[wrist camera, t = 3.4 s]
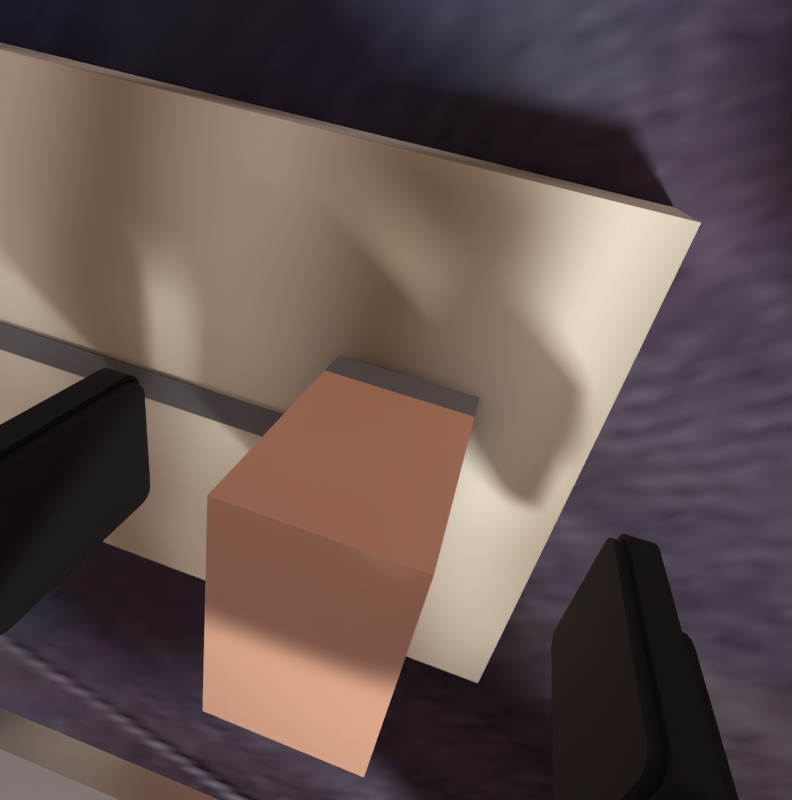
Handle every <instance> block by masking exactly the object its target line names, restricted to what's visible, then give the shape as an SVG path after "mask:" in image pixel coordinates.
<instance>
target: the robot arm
mask: <svg viewBox="0 0 792 800" xmlns="http://www.w3.org/2000/svg"><path fill="white" fill-rule="evenodd" d="M149 491H150V471H149V455H148V439H147V423H146V406H145V392H144V389H143V387H142V386H140V385H139V381H138V379H137V378H136V377H134V376H133V375H130V374H126V373H123V372H120V371H117V370H114V369H111V368H103V369H100V370H98V371H97V372H95V373H93V374H91V375H89V376H87V377H86V378H84V379H82V380H80V381H78V382H77V383H75V384H73V385H71V386H69V387H68V388H66V389H64V390H62V391H60V392H58V393H57V394H55V395H53V396H51V397H49V398H48V399H46V400H44V401H42V402H40V403H38V404H37V405H35V406H33V407H31V408H29V409H28V410H26V411H24V412H22V413H20V414H19V415H17V416H15V417H13V418H11V419H9V420H8V421H6V422H4V423H2V424H0V635H1V634H3V633H5V632H6V631H8V630H9V629H10V628H11V627H12V626H14V625H15V624H16V623H17V622H18V621H19V620H20V619H21V618H22V617H23V616H24V615H25V614H26V613H27V612H28V611H29V610H30V609H32V608H33V607H34V606H35V605H36V604H37V603H38V602H39V601H40V600H41V599H42V598H43V597H44V596H45V595H46V594H47V593H49V592H50V591H51V590H52V589H53V588H54V587H55V586H56V585H57V584H58V583H59V582H60V581H61V580H62V579H63V578H64V577H65V576H67V575H68V574H69V573H70V572H71V571H72V570H73V569H74V568H75V567H76V566H77V565H78V564H79V563H80V562H81V561H82V560H83V559H85V558H86V557H87V556H88V555H89V554H90V553H91V552H92V551H93V550H94V549H95V548H96V547H97V546H98V545H99V544H100V543H102V542H103V541H104V540H105V539H106V538H107V537H108V536H109V535H110V534H111V533H112V532H113V531H114V530H115V529H116V528H117V527H118V526H120V525H121V524H122V523H123V522H124V521H125V520H126V519H127V518H128V517H129V516H130V515H131V514H132V513H133V512H134V511H135V510H137V509H138V508H139V507H140V506H141V505H142V504H143V503H144V501H145V500H146V498H147V497H148V494H149ZM551 661H552V739H553V800H739V799H738V796H737V792H736V789H735V785H734V782H733V778H732V775H731V771H730V768H729V764H728V761H727V757H726V754H725V751H724V747H723V744H722V740H721V737H720V733H719V730H718V726H717V723H716V719H715V716H714V712H713V709H712V705H711V702H710V698H709V695H708V691H707V688H706V684H705V681H704V677H703V674H702V670H701V667H700V664H699V660H698V657H697V653H696V650H695V647H694V645H693V642H692V640H691V639H690V637H689V636H688V635H687V634H686V633H683V632H682V630H681V626H680V622H679V619H678V615H677V611H676V608H675V604H674V600H673V597H672V593H671V589H670V586H669V582H668V578H667V574H666V571H665V567H664V563H663V560H662V556H661V552H660V549H659V547H658V546H657V545H656V544H655V543H651V542H648V541H645V540H642V539H639V538H636V537H633V536H630V535H627V534H622V535H621V536H619V537H618V539H617V540H616V539H613V538H609V539H607V541H606V542H605V543H604V545H603V547H602V549H601V550H600V552H599V554H598V556H597V557H596V559H595V561H594V563H593V564H592V566H591V568H590V570H589V571H588V573H587V575H586V577H585V578H584V580H583V582H582V584H581V585H580V587H579V589H578V591H577V592H576V594H575V596H574V597H573V599H572V601H571V603H570V604H569V606H568V608H567V610H566V611H565V613H564V615H563V617H562V618H561V620H560V622H559V624H558V625H557V627H556V629H555V632H554V635H553V639H552V647H551ZM0 800H218V799H215V798H213V797H211V796H208V795H206V794H204V793H201V792H199V791H197V790H194V789H192V788H189V787H187V786H185V785H182V784H180V783H178V782H175V781H173V780H171V779H168V778H166V777H163V776H161V775H159V774H156V773H154V772H152V771H149V770H147V769H144V768H142V767H140V766H137V765H135V764H133V763H130V762H128V761H125V760H123V759H121V758H118V757H116V756H114V755H111V754H109V753H107V752H104V751H102V750H99V749H97V748H95V747H92V746H90V745H88V744H85V743H83V742H80V741H78V740H76V739H73V738H71V737H69V736H66V735H64V734H61V733H59V732H57V731H54V730H52V729H49V728H47V727H45V726H42V725H40V724H37V723H35V722H33V721H30V720H28V719H25V718H23V717H21V716H18V715H16V714H13V713H11V712H9V711H6V710H4V709H1V708H0Z"/></svg>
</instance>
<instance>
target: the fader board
mask: <svg viewBox="0 0 792 800" xmlns="http://www.w3.org/2000/svg"><path fill="white" fill-rule="evenodd" d="M700 224H701V222H699V221H697V220H695V219H694V218H692V217H690V216H688V215H687V214H685V213H683V212H682V211H680V210H678V209H676V208H675V207H671V206H667V205H662V204H658V203H654V202H650V201H646V200H642V199H638V198H634V197H630V196H626V195H622V194H618V193H613V192H609V191H605V190H601V189H597V188H593V187H589V186H585V185H581V184H577V183H573V182H569V181H564V180H560V179H556V178H552V177H548V176H544V175H540V174H536V173H532V172H528V171H524V170H520V169H515V168H511V167H507V166H503V165H499V164H495V163H491V162H487V161H483V160H479V159H475V158H471V157H466V156H462V155H458V154H454V153H450V152H446V151H442V150H438V149H434V148H430V147H426V146H422V145H417V144H413V143H409V142H405V141H401V140H397V139H393V138H389V137H385V136H381V135H377V134H373V133H368V132H364V131H360V130H356V129H352V128H348V127H344V126H340V125H336V124H332V123H328V122H324V121H319V120H315V119H311V118H307V117H303V116H299V115H295V114H291V113H287V112H283V111H279V110H275V109H270V108H266V107H262V106H258V105H254V104H250V103H246V102H242V101H238V100H234V99H230V98H226V97H221V96H217V95H213V94H209V93H205V92H201V91H197V90H193V89H189V88H185V87H181V86H177V85H172V84H168V83H164V82H160V81H156V80H152V79H148V78H144V77H140V76H136V75H132V74H128V73H123V72H119V71H115V70H111V69H107V68H103V67H99V66H95V65H91V64H87V63H83V62H79V61H74V60H70V59H66V58H62V57H58V56H54V55H50V54H46V53H42V52H38V51H34V50H30V49H25V48H21V47H17V46H13V45H9V44H5V43H1V42H0V424H2V423H4V422H6V421H8V420H9V419H11V418H13V417H15V416H17V415H19V414H20V413H22V412H24V411H26V410H28V409H29V408H31V407H33V406H35V405H37V404H38V403H40V402H42V401H44V400H46V399H48V398H49V397H51V396H53V395H55V394H57V393H58V392H60V391H62V390H64V389H66V388H68V387H69V386H71V385H73V384H75V383H77V382H78V381H80V380H82V379H84V378H86V377H87V376H89V375H91V374H93V373H95V372H97V371H98V370H100V369H103V368H111V369H114V370H117V371H120V372H123V373H126V374H130V375H133V376H134V377H136V378H137V379H138V381H139V385H140V386H142V387H143V389H144V392H145V406H146V423H147V439H148V455H149V471H150V491H149V494H148V497H147V498H146V500H145V501H144V503H143V504H142V505H141V506H140V507H139V508H138V509H137V510H135V511H134V512H133V513H132V514H131V515H130V516H129V517H128V518H127V519H126V520H125V521H124V522H123V523H122V524H121V525H120V526H118V527H117V528H116V529H115V530H114V531H113V532H112V533H111V534H110V535H109V536H108V537H107V538H106V539H105V540H104V541H103V542H105V543H107V544H110V545H113V546H115V547H118V548H120V549H123V550H126V551H128V552H131V553H134V554H136V555H139V556H142V557H144V558H147V559H150V560H152V561H155V562H158V563H160V564H163V565H166V566H168V567H171V568H174V569H176V570H179V571H181V572H184V573H187V574H189V575H192V576H195V577H197V578H200V579H203V580H205V579H206V532H207V495H208V494H209V493H210V492H211V491H212V490H213V489H214V488H215V487H216V486H217V485H218V483H219V482H220V481H221V480H222V479H223V478H224V477H225V476H226V475H227V474H228V473H229V472H230V471H231V470H232V469H233V468H234V466H235V465H236V464H237V463H238V462H239V461H240V460H241V459H242V458H243V457H244V456H245V455H246V454H247V453H248V452H249V450H250V449H251V448H252V447H253V446H254V445H255V444H256V443H257V442H258V441H259V440H260V439H261V438H262V437H263V436H264V435H265V433H266V432H267V431H268V430H269V429H270V428H271V427H272V426H273V425H274V424H275V423H276V422H277V421H278V420H279V419H280V417H281V416H282V415H283V414H284V413H285V412H286V411H287V410H288V409H289V408H290V407H291V406H292V405H293V404H294V403H295V402H296V400H297V399H298V398H299V397H300V396H301V395H302V394H303V393H304V392H305V391H306V390H307V389H308V388H309V387H310V386H311V385H312V383H313V382H314V381H315V380H316V379H317V378H318V377H319V376H320V375H321V374H322V373H323V372H324V371H325V370H326V369H327V367H328V366H329V365H330V364H331V363H332V362H333V361H334V360H335V359H336V358H337V357H338V356H339V355H340V356H344V357H347V358H350V359H353V360H357V361H360V362H363V363H367V364H370V365H373V366H376V367H380V368H383V369H386V370H390V371H393V372H396V373H399V374H403V375H406V376H409V377H412V378H416V379H419V380H422V381H426V382H429V383H432V384H435V385H439V386H442V387H445V388H449V389H452V390H455V391H458V392H462V393H465V394H468V395H472V396H475V397H478V398H479V402H478V406H477V409H476V413H475V417H474V421H473V425H472V429H471V433H470V437H469V441H468V445H467V448H466V452H465V456H464V460H463V464H462V468H461V472H460V476H459V480H458V483H457V487H456V491H455V495H454V499H453V503H452V507H451V511H450V515H449V519H448V522H447V526H446V530H445V534H444V538H443V542H442V546H441V550H440V554H439V558H438V561H437V565H436V569H435V573H434V577H433V580H432V582H431V585H430V588H429V591H428V594H427V597H426V600H425V603H424V605H423V608H422V611H421V614H420V617H419V620H418V623H417V626H416V629H415V631H414V634H413V637H412V640H411V643H410V646H409V649H408V652H407V654H406V656H407V657H410V658H412V659H415V660H417V661H420V662H423V663H425V664H428V665H431V666H433V667H436V668H439V669H441V670H444V671H447V672H449V673H452V674H455V675H457V676H460V677H463V678H465V679H468V680H471V681H473V682H476V683H478V682H479V680H480V678H481V676H482V674H483V672H484V670H485V668H486V666H487V664H488V661H489V659H490V657H491V655H492V653H493V651H494V649H495V647H496V645H497V643H498V641H499V639H500V637H501V635H502V633H503V630H504V628H505V626H506V624H507V622H508V620H509V618H510V616H511V614H512V612H513V610H514V608H515V606H516V604H517V602H518V600H519V597H520V595H521V593H522V591H523V589H524V587H525V585H526V583H527V581H528V579H529V577H530V575H531V573H532V571H533V569H534V567H535V564H536V562H537V560H538V558H539V556H540V554H541V552H542V550H543V548H544V546H545V544H546V542H547V540H548V538H549V536H550V533H551V531H552V529H553V527H554V525H555V523H556V521H557V519H558V517H559V515H560V513H561V511H562V509H563V507H564V505H565V503H566V500H567V498H568V496H569V494H570V492H571V490H572V488H573V486H574V484H575V482H576V480H577V478H578V476H579V474H580V472H581V469H582V467H583V465H584V463H585V461H586V459H587V457H588V455H589V453H590V451H591V449H592V447H593V445H594V443H595V441H596V439H597V436H598V434H599V432H600V430H601V428H602V426H603V424H604V422H605V420H606V418H607V416H608V414H609V412H610V410H611V408H612V406H613V403H614V401H615V399H616V397H617V395H618V393H619V391H620V389H621V387H622V385H623V383H624V381H625V379H626V377H627V375H628V372H629V370H630V368H631V366H632V364H633V362H634V360H635V358H636V356H637V354H638V352H639V350H640V348H641V346H642V344H643V342H644V339H645V337H646V335H647V333H648V331H649V329H650V327H651V325H652V323H653V321H654V319H655V317H656V315H657V313H658V311H659V309H660V306H661V304H662V302H663V300H664V298H665V296H666V294H667V292H668V290H669V288H670V286H671V284H672V282H673V280H674V278H675V275H676V273H677V271H678V269H679V267H680V265H681V263H682V261H683V259H684V257H685V255H686V253H687V251H688V249H689V247H690V245H691V242H692V240H693V238H694V236H695V234H696V232H697V230H698V228H699V226H700Z"/></svg>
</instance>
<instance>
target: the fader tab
mask: <svg viewBox="0 0 792 800" xmlns="http://www.w3.org/2000/svg"><path fill="white" fill-rule="evenodd" d="M478 402H479V398H478V397H475V396H472V395H468V394H465V393H462V392H458V391H455V390H452V389H449V388H445V387H442V386H439V385H435V384H432V383H429V382H426V381H422V380H419V379H416V378H412V377H409V376H406V375H403V374H399V373H396V372H393V371H390V370H386V369H383V368H380V367H376V366H373V365H370V364H367V363H363V362H360V361H357V360H353V359H350V358H347V357H344V356H340V355H339V356H338V357H337V358H336V359H335V360H334V361H333V362H332V363H331V364H330V365H329V366H328V367H327V369H326V370H325V371H324V372H323V373H322V374H321V375H320V376H319V377H318V378H317V379H316V380H315V381H314V382H313V383H312V385H311V386H310V387H309V388H308V389H307V390H306V391H305V392H304V393H303V394H302V395H301V396H300V397H299V398H298V399H297V400H296V402H295V403H294V404H293V405H292V406H291V407H290V408H289V409H288V410H287V411H286V412H285V413H284V414H283V415H282V416H281V417H280V419H279V420H278V421H277V422H276V423H275V424H274V425H273V426H272V427H271V428H270V429H269V430H268V431H267V432H266V433H265V435H264V436H263V437H262V438H261V439H260V440H259V441H258V442H257V443H256V444H255V445H254V446H253V447H252V448H251V449H250V450H249V452H248V453H247V454H246V455H245V456H244V457H243V458H242V459H241V460H240V461H239V462H238V463H237V464H236V465H235V466H234V468H233V469H232V470H231V471H230V472H229V473H228V474H227V475H226V476H225V477H224V478H223V479H222V480H221V481H220V482H219V483H218V485H217V486H216V487H215V488H214V489H213V490H212V491H211V492H210V493H209V494H208V495H207V532H206V579H205V626H204V673H203V711H204V712H207V713H209V714H212V715H214V716H216V717H219V718H221V719H224V720H226V721H229V722H231V723H233V724H236V725H238V726H241V727H243V728H246V729H248V730H250V731H253V732H255V733H258V734H260V735H262V736H265V737H267V738H270V739H272V740H275V741H277V742H279V743H282V744H284V745H287V746H289V747H292V748H294V749H296V750H299V751H301V752H304V753H306V754H309V755H311V756H313V757H316V758H318V759H321V760H323V761H325V762H328V763H330V764H333V765H335V766H338V767H340V768H342V769H345V770H347V771H350V772H352V773H355V774H357V775H359V776H362V777H364V775H365V773H366V770H367V767H368V764H369V761H370V758H371V755H372V752H373V750H374V747H375V744H376V741H377V738H378V735H379V732H380V729H381V726H382V724H383V721H384V718H385V715H386V712H387V709H388V706H389V703H390V701H391V698H392V695H393V692H394V689H395V686H396V683H397V680H398V678H399V675H400V672H401V669H402V666H403V663H404V660H405V657H406V654H407V652H408V649H409V646H410V643H411V640H412V637H413V634H414V631H415V629H416V626H417V623H418V620H419V617H420V614H421V611H422V608H423V605H424V603H425V600H426V597H427V594H428V591H429V588H430V585H431V582H432V580H433V577H434V573H435V569H436V565H437V561H438V558H439V554H440V550H441V546H442V542H443V538H444V534H445V530H446V526H447V522H448V519H449V515H450V511H451V507H452V503H453V499H454V495H455V491H456V487H457V483H458V480H459V476H460V472H461V468H462V464H463V460H464V456H465V452H466V448H467V445H468V441H469V437H470V433H471V429H472V425H473V421H474V417H475V413H476V409H477V406H478Z"/></svg>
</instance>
